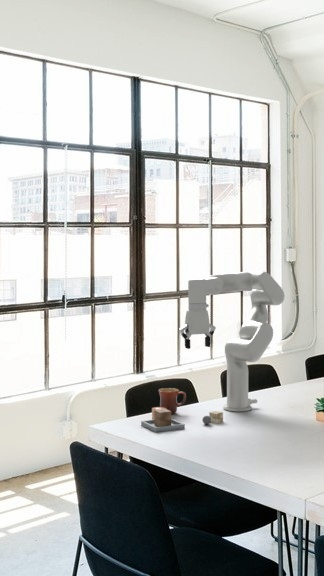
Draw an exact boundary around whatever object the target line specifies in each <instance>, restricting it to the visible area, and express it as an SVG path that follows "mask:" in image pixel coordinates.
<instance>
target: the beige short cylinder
mask: <svg viewBox="0 0 324 576" xmlns="http://www.w3.org/2000/svg"><path fill="white" fill-rule="evenodd" d="M161 409H166V408H164V407H160V406H156V407H155V406H154V407H151V420H154V419H155V410H161Z"/></svg>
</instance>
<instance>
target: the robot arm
mask: <svg viewBox="0 0 324 576" xmlns="http://www.w3.org/2000/svg"><path fill="white" fill-rule="evenodd" d="M187 283H188V284H187V285H188V286H187V287H188V290H187V291H188V300H187V301H188V310H186V312H185V318H184V319H185V320H184V325H183V326H182V327H180V328H179V329H178V330H179V333H180V336H182V338H183V339H184V347H185V349H187V350H189V349H191V339H190V338H191V337H192V336H193V335H203V334H204V335H205V337H204V346H205V347H208V348H210V347H211V338H212V337H213V335H214V334H215V331H216V329H217V328H216V327H217V326H215V325H213V324H212V323H210V315H209V311H208V310H207V308H209V304H207V295H212V296H216V295H219V294H221V293H238V292H244V291H250V302H251V312H250V313H249V315H248V317H246V320H245V321H244V322H243V324H242V325H241V326H240V328H239V332H238V335H239V338H237V337H236V338H231V339H229V340H227V342H225V346H224V355H225V360H226V404H224V405H222V406H223V407H222V408H223V410H225V411H228V412H240V413H241V412H248V411H251V410H252V406H251V405H252V404H257V403H258V399H257V398H254V399H253V398H250V397H249V367H248V364H247V362H249V363H255V362H257V361H259V360H260V358H262V356H263V355H264V353H265V352H266V350H267V348H268V347H269V345H270V344H271V342H272V341H273V338H274V329H273V327H272V325H271V324H269V323H268V320H269V312H268V310H267V309H268V308H267V306H279V305H281V304H282V303H283V302H284V300H285V291H284V289H283V288H282V287H281V286H280V284H278V282H277V281H276V279H274V277H273V276H272V275H270V274H269V273H268V272H266V271H263V270H259V271H258V270H247V271H239V272H238V271H237V272H229V273H221V274H209V275H201V276H196V277H192V278H189V279H188V281H187Z"/></svg>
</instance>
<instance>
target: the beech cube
mask: <svg viewBox="0 0 324 576" xmlns="http://www.w3.org/2000/svg"><path fill="white" fill-rule="evenodd" d="M208 416H209V417H210V418H211V423H214V424H219V423H222V422H224V412H222V411H218V410H214V411H210V412H209V413H208Z"/></svg>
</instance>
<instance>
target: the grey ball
mask: <svg viewBox="0 0 324 576" xmlns="http://www.w3.org/2000/svg"><path fill="white" fill-rule="evenodd" d="M202 423H203V424H205V426H206V425H210V424H211V423H212V422H211V418H210V417H209V415H204V416H203V417H202Z"/></svg>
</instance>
